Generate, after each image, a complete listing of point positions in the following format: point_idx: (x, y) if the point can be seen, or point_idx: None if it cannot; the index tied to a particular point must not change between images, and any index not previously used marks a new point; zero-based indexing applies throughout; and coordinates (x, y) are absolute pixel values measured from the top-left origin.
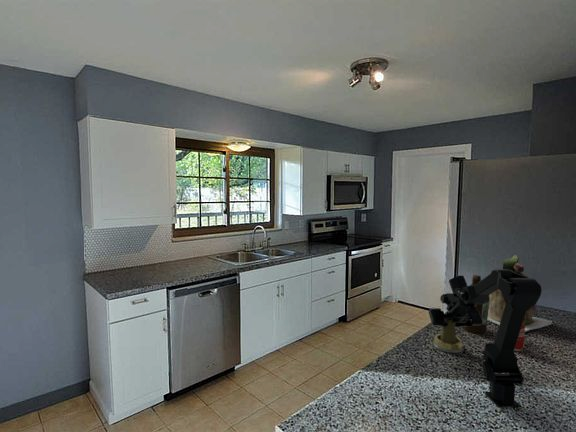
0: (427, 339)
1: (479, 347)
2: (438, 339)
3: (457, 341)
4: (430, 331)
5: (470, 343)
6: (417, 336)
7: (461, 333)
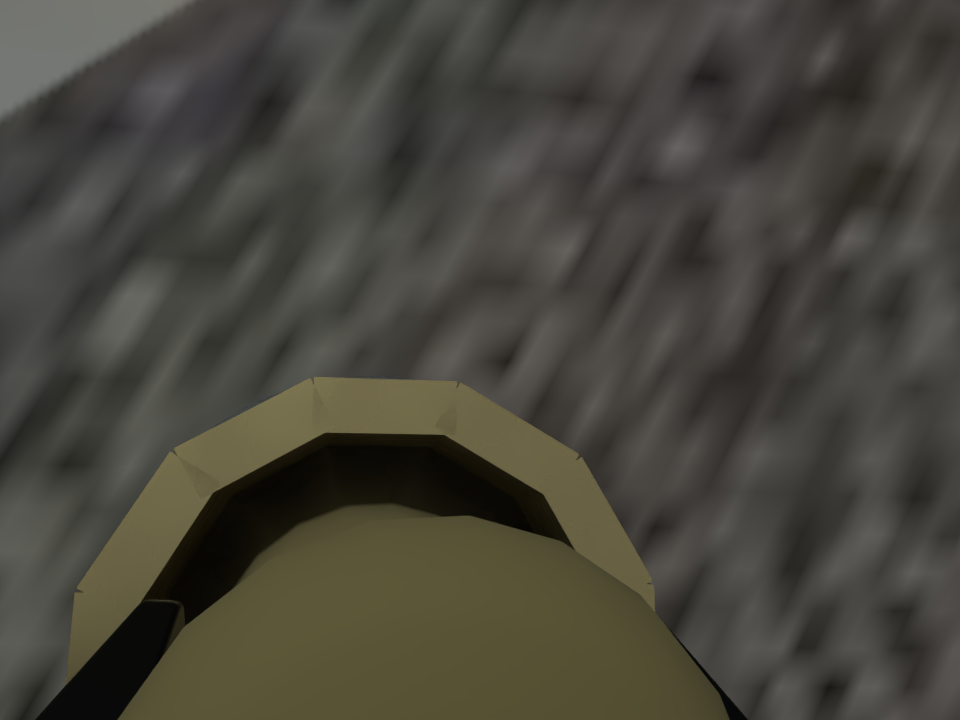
0: (145, 308)
1: (908, 660)
2: None
3: None
4: (390, 10)
5: (836, 506)
6: (13, 170)
7: (866, 143)
